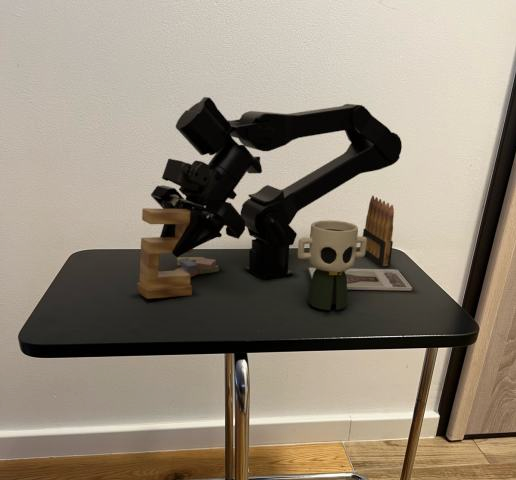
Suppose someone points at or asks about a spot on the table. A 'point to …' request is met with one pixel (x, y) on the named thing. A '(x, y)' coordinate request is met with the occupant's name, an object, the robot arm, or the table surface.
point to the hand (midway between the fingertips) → (166, 252)
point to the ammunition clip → (379, 232)
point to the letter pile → (197, 265)
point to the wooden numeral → (150, 277)
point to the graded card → (374, 279)
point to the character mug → (331, 261)
